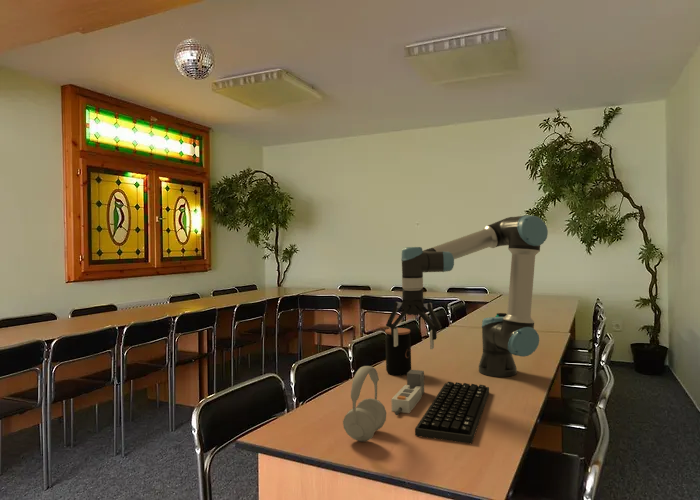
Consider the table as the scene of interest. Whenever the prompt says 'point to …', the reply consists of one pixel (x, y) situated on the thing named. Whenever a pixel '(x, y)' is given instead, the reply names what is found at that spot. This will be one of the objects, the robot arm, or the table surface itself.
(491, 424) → the table surface
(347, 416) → the headphones
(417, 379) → the charger
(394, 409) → the strip
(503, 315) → the beverage can
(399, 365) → the coffee jar
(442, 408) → the computer keyboard
